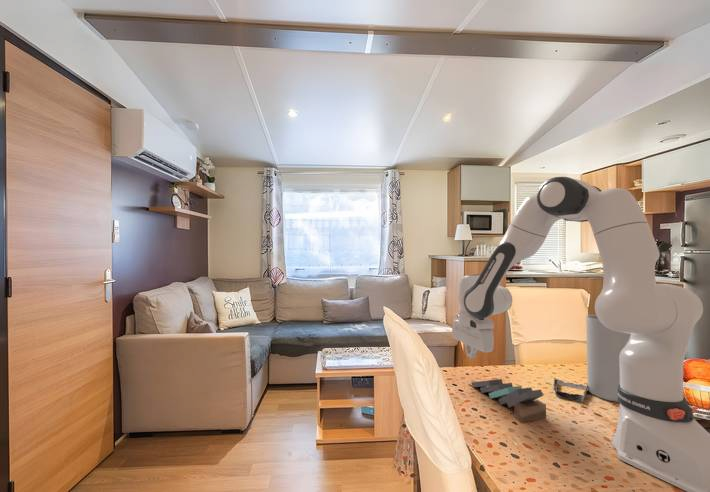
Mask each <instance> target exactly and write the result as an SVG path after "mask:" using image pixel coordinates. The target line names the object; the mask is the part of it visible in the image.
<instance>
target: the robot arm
mask: <svg viewBox="0 0 710 492" xmlns="http://www.w3.org/2000/svg"><path fill="white" fill-rule="evenodd" d="M538 188H539V189H538V190H537V194H531V195H528V196H527V197H526V198H525V199H524V200H523V201H522V203H521V204H520V205H519V207H518V209H517V210H516V212H515V213H514V215H513V217H512V219H511V221H510V223H509V225H508V227H507V230H506V232H505V234H504V235H503V237H502V238H501V240H500V242H499V243H498V244H497V246H496V247H495V249H494V251H493V252H492V254H491V255H490V257H489V259H488V261H487V262H486V264H485V266H484V267H483V270H482V271H481V273H480V274H479V273H478V274H477V273H475V274H468V275H463V276H461V277H460V279H459V283H458V292H457V293H458V297H457V298H458V302H459V303H458V304H459V305H458V309H457V310H458V311H457V312H458V313H457V314H455V316H454V317H453V318H454V320H453V321H452V327H451V335H452V338H453V339H455V340H456V341H459V342H461V343H462V344H464V348H465V352H466V356H467V357H468V358H470V359H474V360H475V359H476V357H477V355H476V354H477V352H478V351H479V352H482V353H491V352H493V350H494V347H495V337H494V335H495V334H494V331H493V329H494V328H495V323H494V322H493V321H492V320H491V319H490V318H488V317H492V316H494V315H497V314H502V313H505V312H507V311H508V310H510V308H511V307H512V304H513V296H512V294H511V293H512V292H511V291H509V289H508V288H506V287H505V286H504V285H503V286H502V285H500V284H501V282H503V279H504V277H505V276H506V274H507V272H509V270H510V269H511V268H512V267H514V266H515V265H516V264H518V263H519V262H521V261H524V260H526V259H528V258H531V257H533V256H534V255H536V253H537V252H538V251H539V250H540V249H541V247H542V245H543V244H544V243H545V241H546V238H547V236H548V235H549V232H550V230H551V229H552V227H553V226H554V225H555V223H556V222H557V221H560V220H563V221H567V222H568V221H569V222H579V223H581V222H582V223H584V222H588V223H589V225H590V227H591V230H592V234H593V237H594V240H595V243H596V245H597V249H598V252H599V256H600V259H601V263H602V269H603V272H602V273H603V278H602V279H603V281H602V288H601V291H600V293H599V294H598V296H597V297H596V299H595V302H594V313H595V315H597V317H598V319H599V321H600V322H601V323H602V324H603V325H604V326H605V327H607V328H608V329H610V330H613V331H617V332H622V333H628V334H631V336H630V338H629V341H628V342H627V344H626V346H625V347H624V348H623V349H622V350H621V352H620V355H619V368H620V384H619V385H618V402H617V403H618V405H619V408H618V409H619V411H618V418H617V425H616V429H615V433H614V436H613V439H612V442H611V443H612V446H613V447H614V449H615V450H616V452H617V459H619V460H620V461H621V462H625V463H626V464H629V465H631V466H632V467H634V468H637V469H639V470H641V471H643V472H645V473H648V474H649V475H651V476H652V477H656V479H657V478H658V479H660V480H662V481H664V482H666V483H668V484H670V485H672V486H675V487H677V488H679V489H680V490H683V491H685V492H710V432H708V431H707V429H705V428H704V427H703V426H702V425H701V424H700V423H699V422H698V421H697V420H696V419H695V415H694V414H695V413H699V412H700V411H699V410H698V409H700V408H699V406H694V407H693V406H692V407H691V406H690V405H689V403H688V401H687V400H686V398H685V397H684V363H685V358H686V357H685V356H686V353H687V349H688V346H689V343H690V339H691V335H692V333H693V329H694V328H695V325H696V324H697V322H698V321H699V320H701V318H702V316H703V312H704V306H703V305H704V304H703V303H702V300H701V299H700V297H699V296H698V295H697V294H696V293H695V292H693V291H691V290H690V289H688V288H685V287H682V286H679V285H674V284H671V283H669V284H668V283H657V282H656V263H657V262H658V260H659V259H660V250H659V247H658V244H657V242H656V240H655V237H654V235H653V232H652V229H651V226H650V224H649V222H648V219H647V217H646V215H645V213H644V211H643V209H642V207H641V205H640V204H639V202H638V201H637V199H636V198H635V197H634V195H633V194H632V192H631V191H629V190H628V189H626V188H619V187H615V188H614V187H612V188H608V189H607V188H606V189H603V190H602V189H601V188H599V187H597V186H594V185H592V184H589V183H588V182H585V181H583V180H580V179H577V178H576V179H575V178H572V177H568V176H555V177H552V178H549V179H547V180H545V181H544V182H543V183H542V184H541V185H540V187H538Z"/></svg>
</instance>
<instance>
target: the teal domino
mask: <svg viewBox="0 0 710 492" xmlns="http://www.w3.org/2000/svg"><path fill="white" fill-rule="evenodd" d="M516 389H523V387H522V385H518V386H517V385H516V386H513V387H508V388H504V389H501V390H498V391H493V392H488V395H489V399H490V400H491V399H492V400H493V399H497V398H498V399H500V398H502V397H504V396H506V395H507V394H509V393H511V392H513V391H514V390H516Z"/></svg>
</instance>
